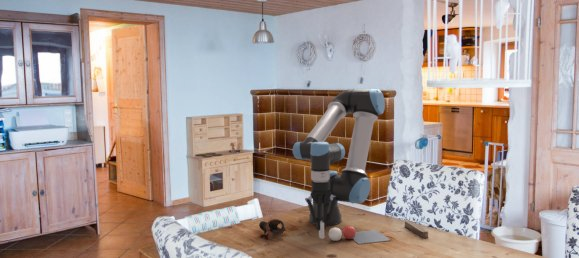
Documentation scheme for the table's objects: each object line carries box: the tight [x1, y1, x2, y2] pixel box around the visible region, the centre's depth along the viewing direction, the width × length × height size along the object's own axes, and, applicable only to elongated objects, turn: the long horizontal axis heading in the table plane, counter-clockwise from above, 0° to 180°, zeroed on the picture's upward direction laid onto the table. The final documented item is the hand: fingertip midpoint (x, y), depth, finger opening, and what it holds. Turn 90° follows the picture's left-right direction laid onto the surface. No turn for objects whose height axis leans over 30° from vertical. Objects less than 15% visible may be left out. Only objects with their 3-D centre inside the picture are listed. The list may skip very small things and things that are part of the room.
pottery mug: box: [258, 218, 286, 240], centre depth 203 cm, size 12×10×8 cm
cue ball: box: [328, 227, 343, 242], centre depth 195 cm, size 6×6×6 cm
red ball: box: [342, 225, 357, 240], centre depth 196 cm, size 6×6×6 cm
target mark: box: [352, 229, 391, 245], centre depth 199 cm, size 14×14×1 cm
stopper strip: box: [404, 220, 429, 239], centre depth 203 cm, size 2×16×2 cm, turn 13°
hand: (321, 237), depth 194 cm, fingers closed
